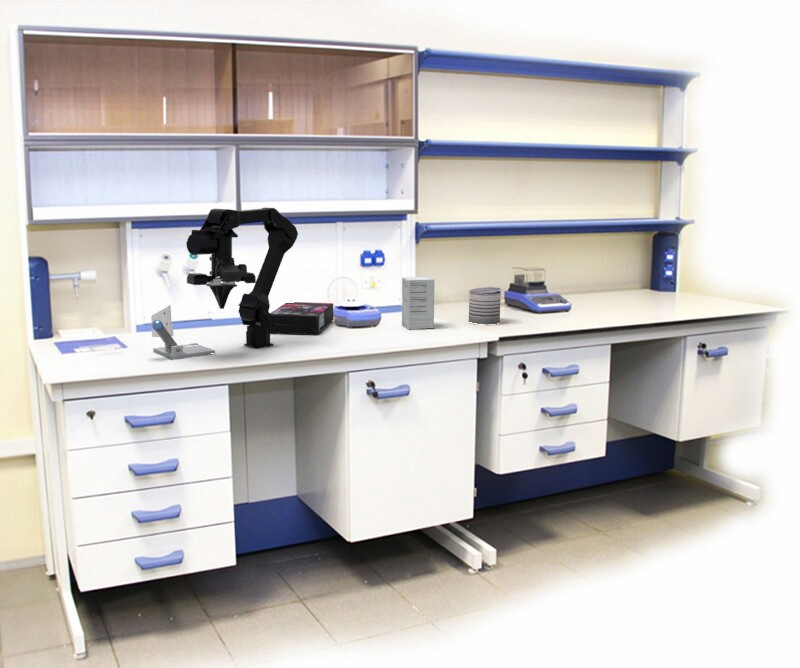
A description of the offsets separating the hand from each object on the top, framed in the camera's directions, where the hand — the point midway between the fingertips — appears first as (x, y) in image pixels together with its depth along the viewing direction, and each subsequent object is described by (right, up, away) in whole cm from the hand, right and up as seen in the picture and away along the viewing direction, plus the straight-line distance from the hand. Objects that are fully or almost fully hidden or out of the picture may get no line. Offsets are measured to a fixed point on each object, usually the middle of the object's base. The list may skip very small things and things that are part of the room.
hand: (221, 308), depth 241 cm
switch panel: (-12, -13, +3) cm, 17 cm away
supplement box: (+57, -5, +47) cm, 74 cm away
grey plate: (-25, -8, +28) cm, 38 cm away
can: (+80, -3, +58) cm, 99 cm away
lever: (-13, -11, -3) cm, 17 cm away
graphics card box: (+16, -5, +31) cm, 35 cm away
